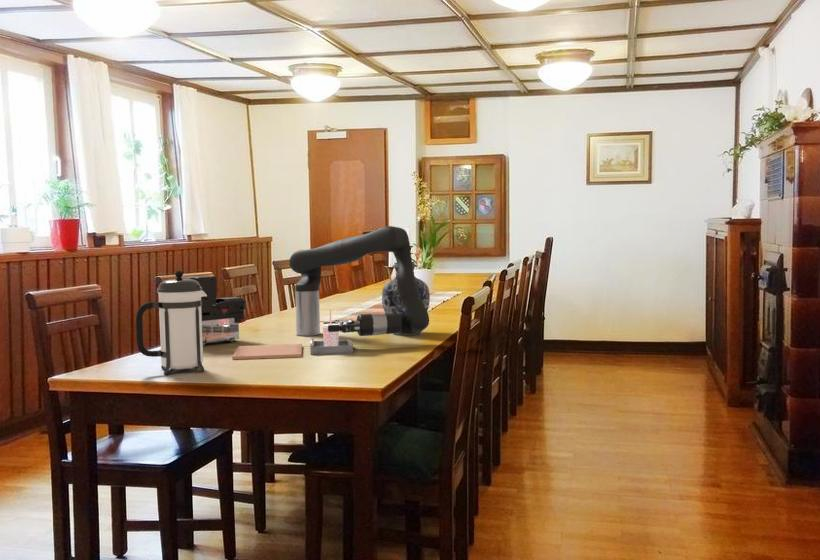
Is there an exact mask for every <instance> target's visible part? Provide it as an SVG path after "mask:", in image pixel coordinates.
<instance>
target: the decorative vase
mask: <svg viewBox="0 0 820 560" xmlns="http://www.w3.org/2000/svg"><path fill="white" fill-rule="evenodd" d="M412 266H413V272H414V270H415V268H418V264H416V263H415V262H414V261H412ZM391 268H393V269H394V270H395V277H394V278H393V279H390V280H389V281H387V282H385V284H384V285H383V287H382V292H381V304H382V309H383V311H384V314H392V313H396V314H399V315H400V316H407V315H409V314H408V311H407V309H406V308H405V307H404V306H403V305H402V303H401V299H400V296H399V292H398V288H397V274H398V266H397V262H394V264H393V265H392V266H391ZM414 273H415V272H414ZM415 280H416V284H417V287H418V291H419V294H420V298H421V300H422V302H423V304H424V306H425V308H426V310H427V312H428V311H429V307H430V301H431V300H430V299H431V298H430V297H431V295H430V288H429V286H428V284H427V283H426V282H425V281H423V280H422V279H420V278H417V277H416V276H415ZM420 334H421V332H420V333H417V334H401V333H394V334H393V335H395V336H403V337H404V336H408V335H409V336H416V335H420Z"/></svg>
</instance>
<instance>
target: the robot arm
mask: <svg viewBox="0 0 820 560" xmlns="http://www.w3.org/2000/svg"><path fill="white" fill-rule="evenodd" d="M411 251H412V250H411V243H410V239H409V235H408V232H407V231H406V230H405V229H404V228H402V227H399V226H398V227H397V226H392V225H386V226H382V227H380V228H377V229H375V230H373V231H371V232H367V233H364V234H359V235H355V236H350V237H346V238H342V239H338V240H335V241H332V242H329V243H326V244H324V245H321V246H319V247H315V248H309V249H300V250H299V249H298V250H296V251H295V252H293V253H292V254H291V255H290V258H289V262H288V264H289V267H290V269H291V270H292V271H293V272H295V273H296V274H301V275H302V276H301V278H300V280H299V281H297V282H296V283H295V285H294V287H295V288H294V289H295V292H294V293H295V294H294V295H295V323H296V324H295V329H296V330H295V331H296V335H297V336H317V335H321V315H320V313H321V312H320V310H321V309H320V286H321V281H322V267H329V266H330V267H331V266H339V265H346V264H350V263H354V262H356V261H357V262H358V261H359V260H361V259H363V258H364V257H365V256H367V255H369V254H373V253H380V252H386V253H387V252H389V253H393V255H394V258H395V261H396V263H397V266H398V274H397V288H398V292H399V296H400V299H401V303H402V305H403V306H404V307H405V308H406V309H407V311H408V314H409V315H407V316H400V315H399V314H396V313H392V314H385V313H362V314H361V313H360V314H358V315H357V316H356V320H353V319H341V320H340V319H339V320H338V319H335V320H333V321H331V324H340V326H339V325H329V326H328V331H329V332H339V333H344V334H346V333H357V334H358V336H360V337H370V336H382V335H391V334H392V335H394V333H401V334H417V333H420V334H421V333H423V331H424V330H426V328H428V326H429V325H430V316H429V312H428V311H427V310H426V308H425V306H424V304H423V302H422V300H421V298H420V294H419V291H418V287H417V284H416V280H415V277H416V276H415V272H413V266H412V262H413V261H412V260H413V259H412V253H411ZM322 324H330V321H324V322H323V323H322Z"/></svg>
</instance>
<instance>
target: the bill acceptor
mask: <svg viewBox="0 0 820 560" xmlns="http://www.w3.org/2000/svg"><path fill="white" fill-rule="evenodd" d="M181 278H182V279H193V280H196V281H197V282H199V284H200V287H202V291H204V292H205V294H206V295H207V296H203V297H201V300H202V306H201V315H202V343H203V347H205V345H206V344H209V343H211V344H212V343H218V342H227V341H231V343H232V344H233V343H234V342H233V341H236V340H239V339H240V325H239V323H244V322H245V321H244V320H245V314H244V313H245V312H244V310H246V299H244V298H243V297H237V296H230V297H229V296H227V297H218V298H217V295H218V293H217V292H218V289H217V287H218V284H217V283H218V282H217V281H218V279H217V276H211V275H210V276H209V275H207V276H206V275H205V276H197V275H195V276H193V275H192V276H182V277H181Z"/></svg>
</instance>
